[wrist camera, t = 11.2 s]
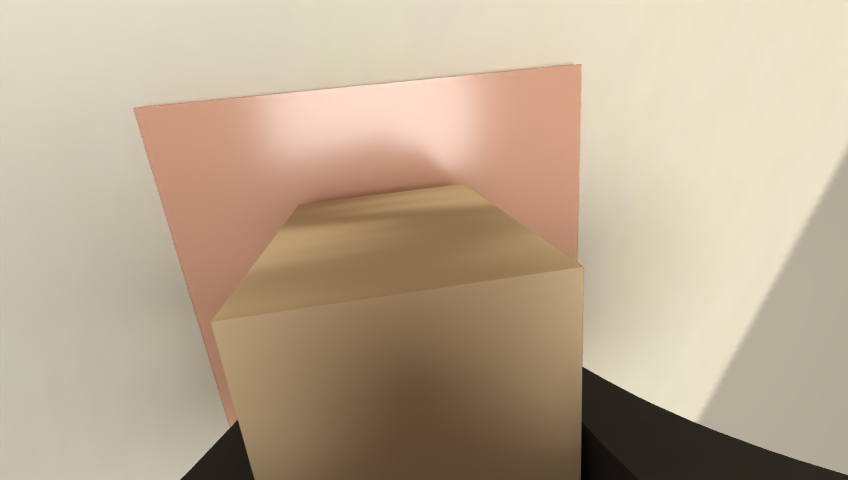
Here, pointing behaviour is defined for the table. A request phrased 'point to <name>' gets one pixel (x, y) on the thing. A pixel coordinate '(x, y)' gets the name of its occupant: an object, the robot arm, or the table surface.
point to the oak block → (407, 344)
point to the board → (357, 164)
